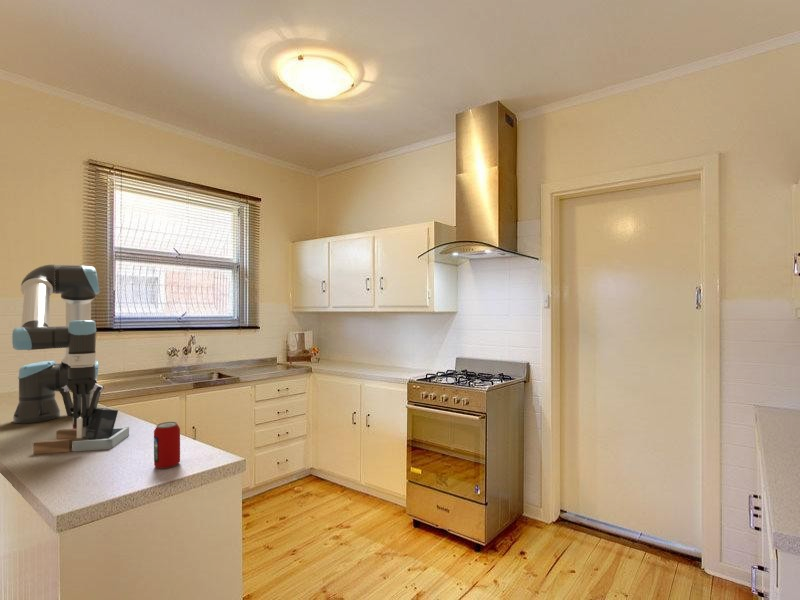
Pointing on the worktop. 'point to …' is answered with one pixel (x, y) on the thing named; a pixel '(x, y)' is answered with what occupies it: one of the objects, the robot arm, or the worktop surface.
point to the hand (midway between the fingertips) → (81, 436)
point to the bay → (102, 441)
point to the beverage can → (166, 445)
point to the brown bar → (57, 442)
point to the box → (101, 424)
